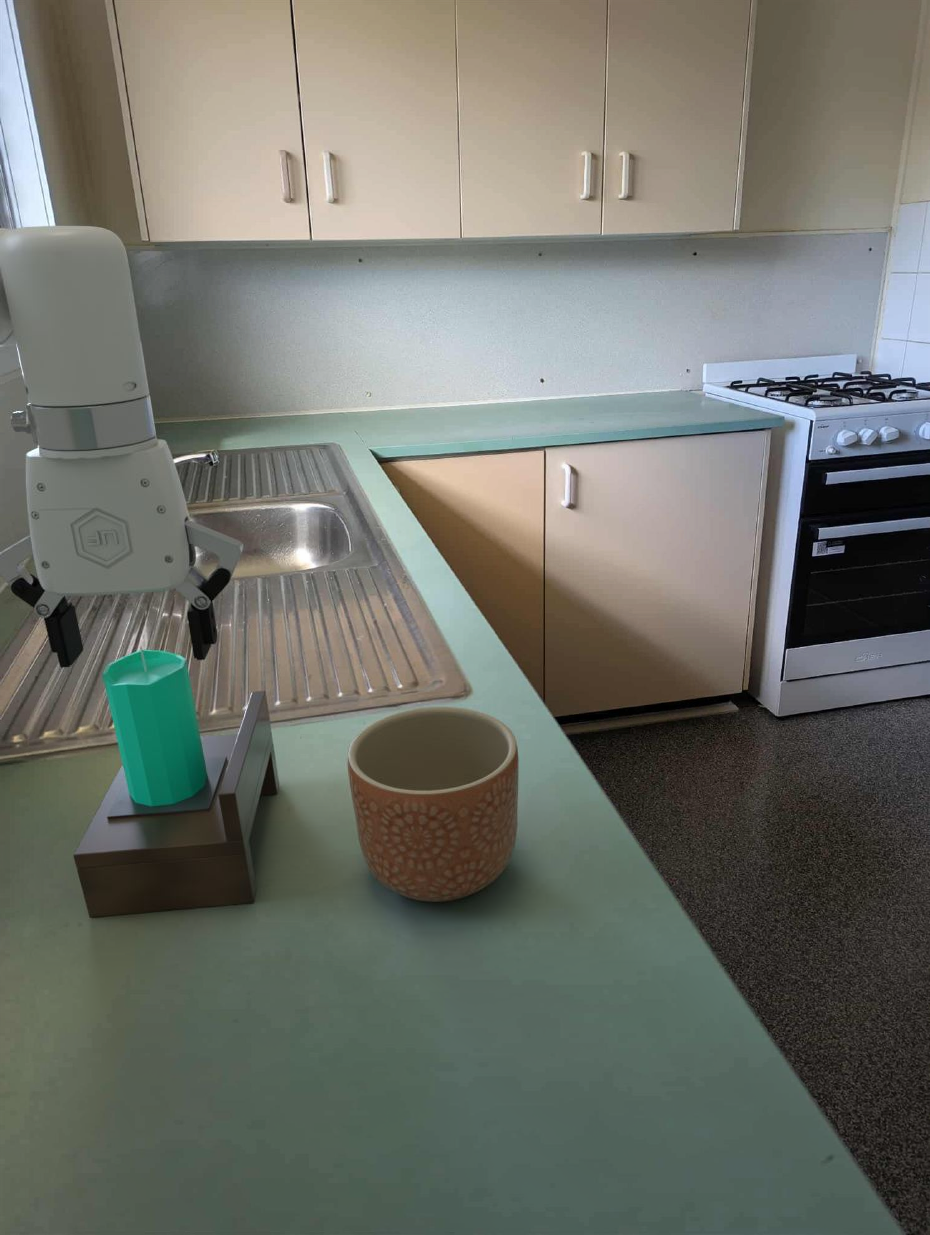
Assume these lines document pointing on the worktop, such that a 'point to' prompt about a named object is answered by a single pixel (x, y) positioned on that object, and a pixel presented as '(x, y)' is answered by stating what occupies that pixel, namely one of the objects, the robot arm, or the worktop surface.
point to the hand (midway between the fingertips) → (138, 656)
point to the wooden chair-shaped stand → (183, 832)
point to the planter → (435, 800)
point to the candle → (156, 726)
